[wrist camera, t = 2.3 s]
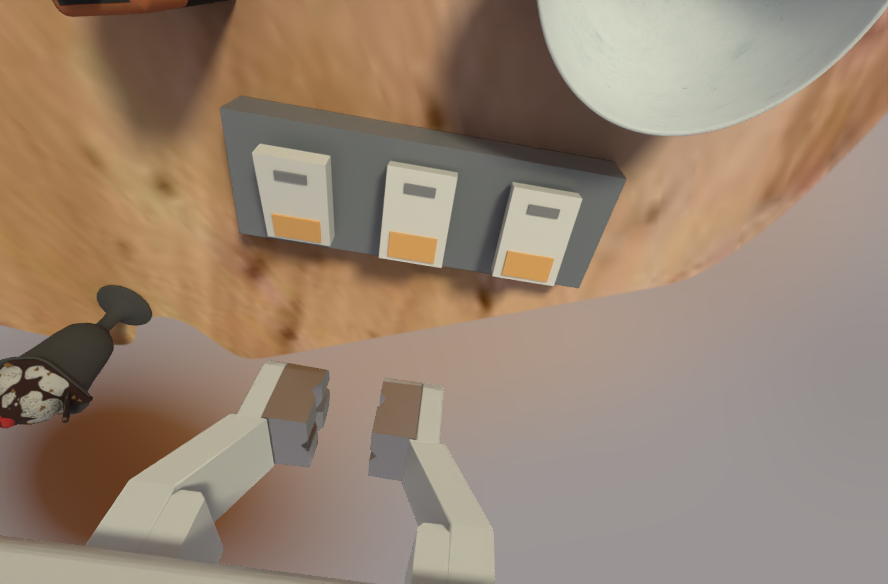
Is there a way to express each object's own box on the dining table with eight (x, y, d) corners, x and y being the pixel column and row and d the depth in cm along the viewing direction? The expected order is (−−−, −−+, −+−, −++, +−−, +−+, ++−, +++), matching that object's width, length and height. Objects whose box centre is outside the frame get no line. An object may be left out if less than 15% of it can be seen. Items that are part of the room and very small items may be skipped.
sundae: (71, 286, 40) (-97, 421, 29) (126, 270, 39) (-28, 406, 27) (123, 336, 44) (-7, 474, 32) (175, 323, 43) (58, 463, 31)
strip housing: (256, 214, 35) (239, 233, 32) (240, 95, 29) (219, 107, 27) (572, 266, 36) (578, 288, 33) (614, 161, 30) (626, 178, 28)
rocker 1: (276, 221, 32) (267, 237, 30) (262, 139, 27) (250, 154, 26) (336, 231, 32) (329, 247, 30) (332, 151, 27) (324, 166, 26)
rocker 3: (491, 265, 32) (492, 277, 30) (511, 179, 28) (514, 187, 27) (549, 275, 32) (554, 287, 30) (576, 190, 29) (583, 199, 27)
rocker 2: (382, 247, 31) (378, 258, 30) (391, 159, 28) (386, 165, 26) (442, 257, 31) (441, 269, 30) (458, 170, 28) (457, 177, 27)
